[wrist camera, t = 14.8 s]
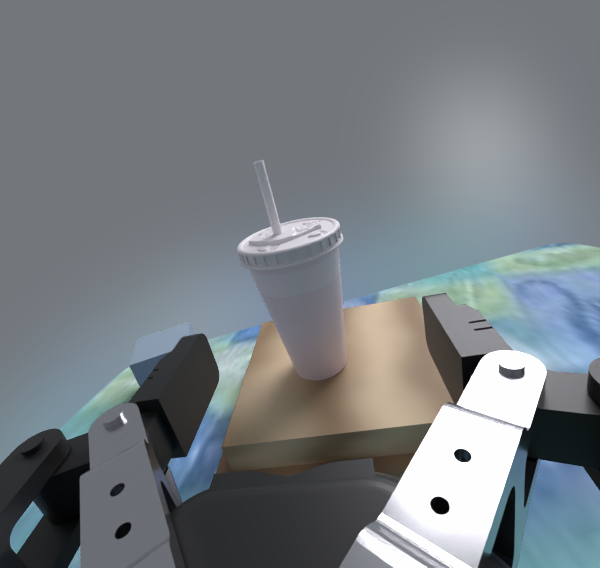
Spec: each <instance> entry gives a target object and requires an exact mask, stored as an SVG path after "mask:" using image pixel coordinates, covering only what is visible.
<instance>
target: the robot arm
mask: <svg viewBox="0 0 600 568" xmlns="http://www.w3.org/2000/svg"><path fill="white" fill-rule="evenodd" d="M422 306H423V316H424V326H425V336H426V342H427V346H428V349H429V352H430V355H431V357H432V359H433V361H434V363H435V365H436V367H437V369H438V371H439V373H440V375H441V377H442V380H443V382H444V384H445V386H446V388H447V390H448V392H449V394H450V396H451V398H452V400H453V402H454V403H450V402H447V403H446V404H445V405H444V406H443V407H442V409H441V410H440V412H439V414H438V416H437V417H436V419H435V421H434V423H433V424H432V426H431V428H430V430H429V431H428V433H427V435H426V436H425V438H424V440H423V442H422V443H421V445H420V447H419V449H418V450H417V452H416V454H415V456H414V457H413V459H412V461H411V462H410V464H409V466H408V468H407V469H406V471H405V473H404V475H403V476H402V478H401V479H400V478H398V477H395V476H392V475H388V474H385V473H379V472H375V467H374V462H373V458H367V459H357V460H348V461H338V462H331V463H328V464H325V465H322V466H319V467H316V468H313V469H310V470H307V471H304V472H301V473H298V474H295V475H292V476H283V475H277V474H271V473H265V472H258V471H252V470H250V471H240V472H230V473H220V474H214V476H213V479H212V482H211V485H210V488H209V489H208V490H205V491H203V492H201V493H198V494H196V495H195V496H193V497H191V498H189V499H188V500H186V501H185V502H183V503H182V500H181V498H180V495H179V492H178V489H177V486H176V483H175V480H174V477H173V475H172V472H171V470H170V468H169V466H168V463H169V461H170V459H171V458H179V457H186V456H187V454H188V452H189V449H190V447H191V445H192V442H193V440H194V438H195V436H196V433H197V431H198V429H199V426H200V424H201V422H202V419H203V417H204V415H205V412H206V410H207V408H208V406H209V403H210V401H211V399H212V396H213V394H214V392H215V389H216V387H217V385H218V382H219V370H218V366H217V364H216V361H215V358H214V356H213V353H212V351H211V348H210V345H209V343H208V340H207V338H206V336H205V335H204V334H202V333H201V334H195V335H189V336H183V337H182V338H181V339H180V340H179V342H178V343H177V345H176V346H175V347H174V349H173V350H172V351H171V352H170V353H168V354H167V355H166V356H165V357H163V358H162V359H161V360H160V361H159V362H158V364H157V365H156V366H155V368H154V369H153V372H151V373H150V374H149V376H148V377H147V380H145V381H144V383H143V384H142V385H141V387H140V388H139V389H138V391H137V392H136V393H135V395H134V396H133V397H132V399H131V400H130V402H129V403H126V404H121V405H118V406H116V407H114V408H112V409H110V410H108V411H106V412H105V413H103V414H102V415H101V416H100V417H98V418H97V419H96V420H95V421H94V423H93V424H92V425H91V427H90V429H89V432H88V433H86V434H83V435H81V436H78V437H75V438H72V439H69V440H67V439H66V438H65V436H64V435H63V433H62V432H61V431H60V430H59V429H49V430H46V431H43V432H40V433H38V434H36V435H35V436H32V437H31V438H29V439H28V440H26V441H25V442H23V443H22V444H21V445H19V446H18V447H17V448H16V449H15V450H14V451H13V452H12V453H11V454H10V455H9V456H8V457H7V458H6V459H5V460H4V461H3V462H2V463H1V465H0V568H68V566H69V564H70V563H71V561H72V559H73V557H74V555H75V554H76V552H77V550H78V548H79V546H81V568H517V566H518V562H519V557H520V552H521V546H522V540H523V532H524V526H525V521H526V517H527V513H528V509H529V505H530V501H531V497H532V493H533V489H534V485H535V481H536V477H537V474H538V470H539V466H540V462H541V460H547V461H553V462H559V463H565V464H571V465H577V466H583V467H584V469H585V470H586V472H587V473H588V474H589V476H590V477H591V479H592V480H593V482H594V483H595V484H596V486H597V487H598V489H599V490H600V358H598V359H596V360H594V361H593V362H591V364H590V365H589V371H588V374H582V373H567V372H555V371H549V370H546V369H545V367H544V365H543V364H542V363H541V362H540V361H539V360H537V359H536V358H534V357H532V356H530V355H528V354H525V353H521V352H516V351H513V350H512V349H511V347H510V346H509V345H508V344H507V343H506V342H505V341H504V339H503V338H502V337H501V336H500V335H499V334H498V333H497V332H496V330H495V329H494V328H492V326H491V325H490V324H489V322H488V321H486V319H485V318H484V317H483V316H482V314H481V313H480V312H479V311H478V310H476V309H474V308H472V307H470V306H468V305H466V304H464V305H458V306H455V304H454V303H453V302H452V300H451V299H450V298H449V296H448V295H447V294H446V293H442V294H436V295H430V296H424V297H423V298H422ZM32 501H34V503H35V504H36V505H37V507H38V508H39V509H40V510H41V512H42V513H43V514H44V516H43V517H42V518H41V520H40V521H39V523H38V524H37V526H36V527H35V529H34V530H33V531H32V533H31V534H30V536H29V537H28V539H27V540H26V542H25V543H24V544H23V546H22V547H21V549H20V550H19V552H18V553H17V555H16V553H15V552H14V551H13V550H12V549H11V547H10V535H11V532H12V529H13V527H14V526H15V524H16V523H17V521H18V520H19V519H20V517H21V516H22V515H23V513H24V512H25V511H26V509H27V508H28V507H29V505H30V504H31V503H32Z"/></svg>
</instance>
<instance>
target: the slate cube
mask: <svg viewBox="0 0 600 568" xmlns="http://www.w3.org/2000/svg"><path fill="white" fill-rule="evenodd" d="M189 335H195V334H194V331H193V329H192V326H191V324H190V322H186V323H183V324H181V325H177V326H174V327H171V328H168V329H165V330H162V331H159V332H156V333H153V334H150V335H147V336H144V337H141V338H138V340H137V343H136V346H135V349H134V352H133V356H132V359H131V362H130V365H129V366H130V368H131V370H132V372H133V374H134V376H135V378H136V380H137V382H138V384H139V386H140V387H141V385H142V384H143V383H144V381H145V380H147V377H148V376H149V374H150V373H151V372H153V369H154V368H155V366H156V365H157V364H158V362H159V361H160V360H161V359H162V358H163V357H165V356H166V355H167V354H168V353H170V352H171V351H172V350H173V349H174V347H175V346H176V345H177V343H178V342H179V340H180V339H181V338H182V337H183V336H189Z"/></svg>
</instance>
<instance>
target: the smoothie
mask: <svg viewBox="0 0 600 568" xmlns="http://www.w3.org/2000/svg"><path fill="white" fill-rule="evenodd" d="M254 166H255V170H256V173H257V177H258V180H259V184H260V188H261V192H262V195H263V199H264V202H265V206H266V210H267V213H268V217H269V220H270V224H271V227H269V228H266V229H264V230H261V231H259V232H257V233H254V234H252V235H251V236H249V237H247V238H246V239H244V240H243V241H242V242H241V243H240V244H239V246H238V248H237V251H238V254H239V257H240V262H241V265H242V266H243V267H245V268H247V269H249V270H250V273H251V275H252V277H253V279H254V282H255V284H256V286H257V288H258V291H259V292H260V294H261V297H262V299H263V301H264V303H265V305H266V307H267V310H268V312H269V314H270V316H271V318H272V320H273V322H274V325H275V327H276V329H277V331H278V333H279V335H280V338H281V340H282V342H283V344H284V346H285V348H286V350H287V353H288V355H289V357H290V359H291V361H292V363H293V365H294V368H295V370H296V372H297V374H298V375H299V376H300V377H302V378H304V379H307V380H312V381H318V380H324V379H328V378H331V377H333V376H335V375H336V374H338V373H339V372H340V371H342V369H343V368H344V367H345V365H346V362H347V357H346V343H345V329H344V314H343V301H342V287H341V272H340V258H339V245H340V244H341V243H342V240H343V235H342V234H341V229H340V224H339V222H338V221H336V220H335V219H331V218H325V217H316V218H306V219H299V220H295V221H290V222H285V223H282V224H280V222H279V218H278V214H277V210H276V206H275V203H274V199H273V195H272V191H271V188H270V184H269V180H268V176H267V172H266V169H265V165H264V161H263V160H260V161H256V162H254Z"/></svg>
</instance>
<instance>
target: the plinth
mask: <svg viewBox="0 0 600 568" xmlns="http://www.w3.org/2000/svg"><path fill="white" fill-rule="evenodd" d="M343 314H344V329H345V343H346V357H347V362H346V365H345V367H344V368H343V369H342V371H340V372H339V373H338V374H336V375H335V376H333V377H331V378H328V379H324V380H318V381H312V380H307V379H304V378H302V377H300V376H299V375H298V374H297V372H296V370H295V368H294V365H293V363H292V361H291V359H290V357H289V355H288V353H287V350H286V348H285V346H284V344H283V342H282V340H281V338H280V335H279V333H278V331H277V329H276V327H275V325H274V322H273V321H270V322H264V323H262V326H261V329H260V332H259V335H258V338H257V341H256V344H255V347H254V350H253V353H252V357H251V360H250V363H249V366H248V369H247V372H246V375H245V378H244V381H243V384H242V387H241V390H240V393H239V396H238V399H237V402H236V405H235V408H234V411H233V414H232V417H231V420H230V423H229V426H228V430H227V433H226V436H225V439H224V442H223V445H222V449H223V454H222V457H221V460H220V463H219V466H218V469H217V473H216V474H220V473H230V472H240V471H250V470H252V471H258V472H265V473H271V474H277V475H283V476H292V475H295V474H298V473H301V472H304V471H307V470H310V469H313V468H316V467H319V466H322V465H325V464H328V463H331V462H338V461H348V460H357V459H367V458H373V462H374V467H375V472H379V473H385V474H388V475H392V476H395V477H398V478H400V479H401V478H402V476H403V475H404V473H405V471H406V469H407V468H408V466H409V464H410V462H411V461H412V459H413V457H414V456H415V454H416V452H417V450H418V449H419V447H420V445H421V443H422V442H423V440H424V438H425V436H426V435H427V433H428V431H429V430H430V428H431V426H432V424H433V423H434V421H435V419H436V417H437V416H438V414H439V412H440V410H441V409H442V407H443V406H444V405H445V404H446V403H447V402H450V403H454V402H453V400H452V398H451V396H450V394H449V392H448V390H447V388H446V386H445V384H444V382H443V380H442V377H441V375H440V373H439V371H438V369H437V367H436V365H435V363H434V361H433V359H432V357H431V355H430V352H429V349H428V346H427V342H426V336H425V326H424V316H423V309H422V308H421V306H420V304H419V302H418V301H417V299H416V297H412V298H406V299H400V300H394V301H388V302H382V303H377V304H371V305H365V306H359V307H353V308H347V309H343Z"/></svg>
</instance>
